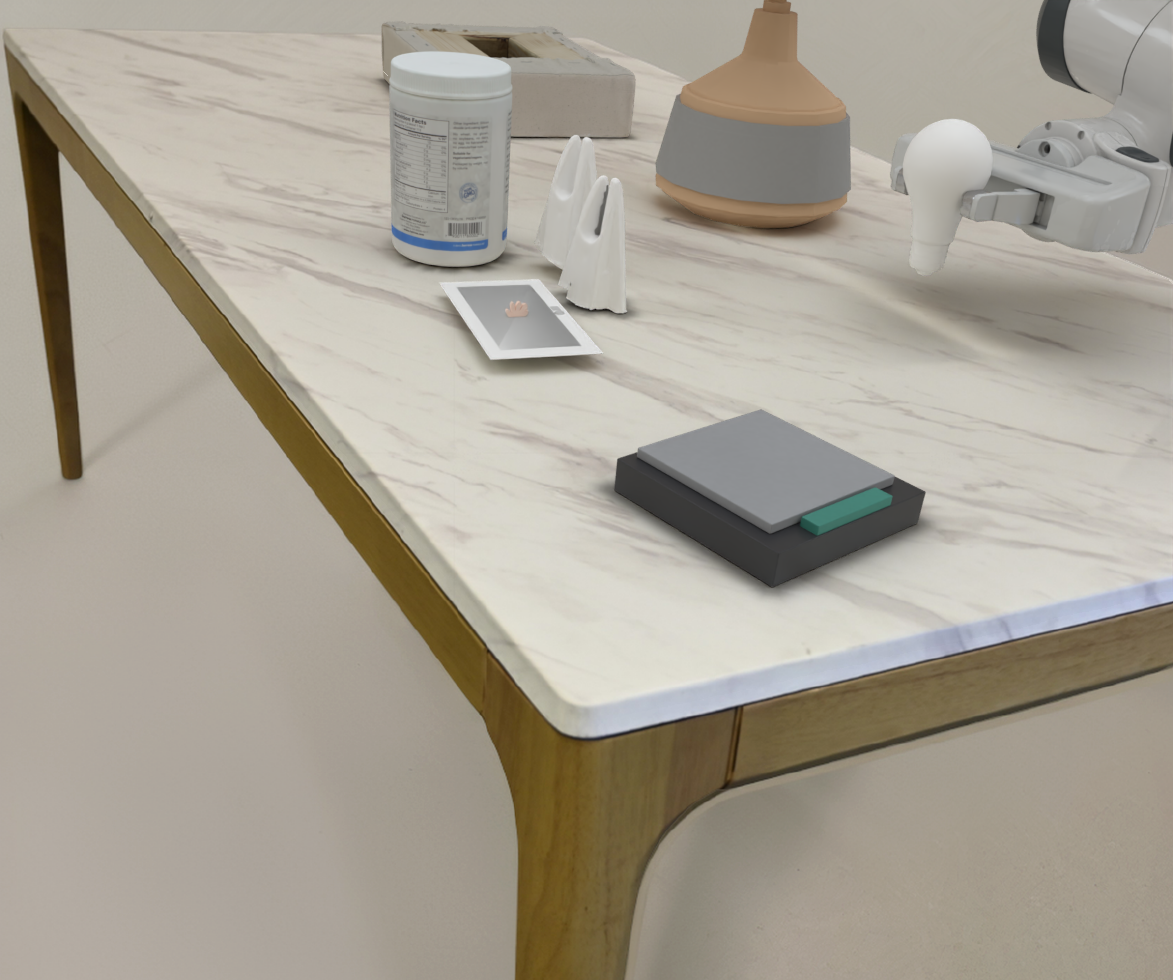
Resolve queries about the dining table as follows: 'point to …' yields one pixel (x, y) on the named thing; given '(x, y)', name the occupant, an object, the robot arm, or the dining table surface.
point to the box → (533, 75)
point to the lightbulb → (942, 185)
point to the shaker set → (585, 230)
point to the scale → (767, 494)
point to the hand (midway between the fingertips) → (932, 193)
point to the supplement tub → (449, 157)
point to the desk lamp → (758, 135)
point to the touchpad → (518, 319)
